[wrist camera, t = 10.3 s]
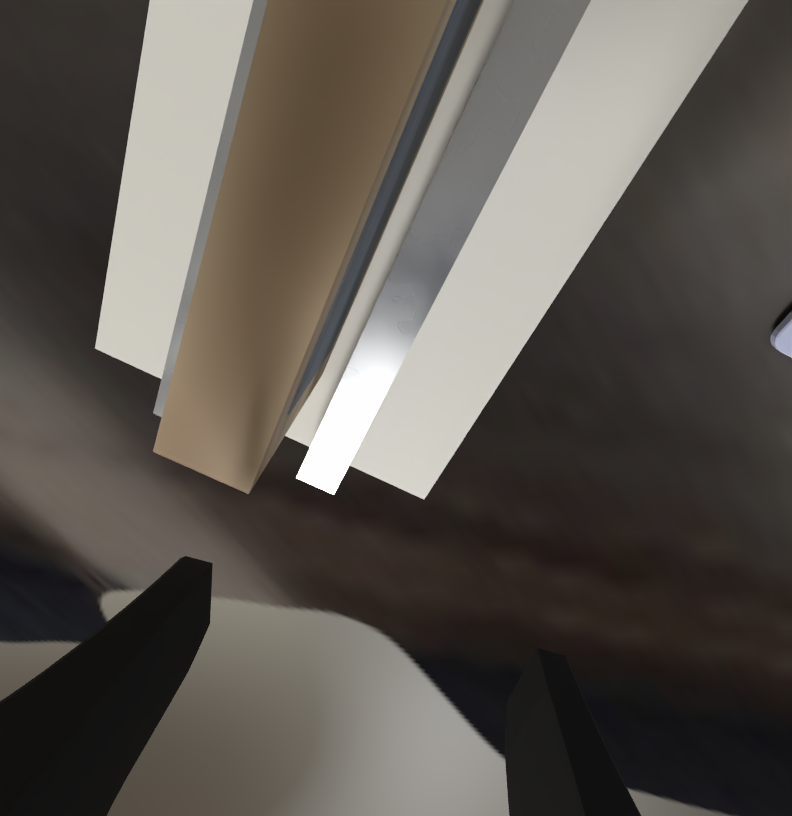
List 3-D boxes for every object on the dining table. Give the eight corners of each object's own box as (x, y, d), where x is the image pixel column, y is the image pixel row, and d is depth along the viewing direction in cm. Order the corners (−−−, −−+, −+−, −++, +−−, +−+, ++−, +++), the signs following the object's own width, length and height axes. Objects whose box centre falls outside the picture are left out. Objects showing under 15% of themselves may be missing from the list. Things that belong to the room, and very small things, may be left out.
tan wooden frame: (532, -107, 12) (591, -348, 6) (323, 375, 19) (250, 494, 13) (432, -168, 12) (385, -482, 6) (257, 343, 19) (151, 450, 12)
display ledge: (802, -109, 12) (899, -178, 9) (426, 481, 22) (419, 533, 19) (254, -456, 11) (178, -655, 8) (114, 337, 21) (57, 370, 18)
